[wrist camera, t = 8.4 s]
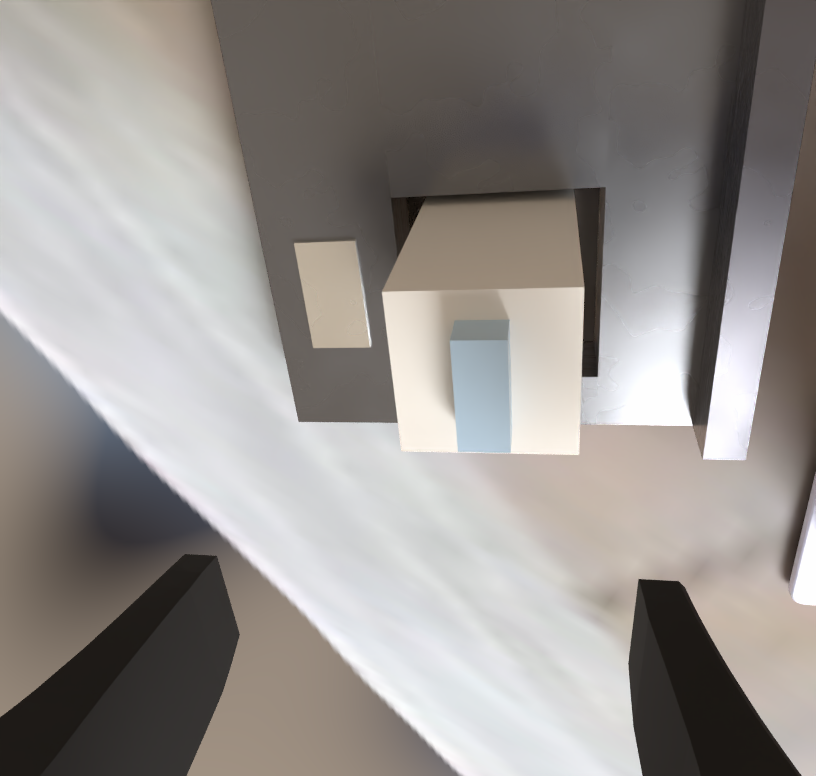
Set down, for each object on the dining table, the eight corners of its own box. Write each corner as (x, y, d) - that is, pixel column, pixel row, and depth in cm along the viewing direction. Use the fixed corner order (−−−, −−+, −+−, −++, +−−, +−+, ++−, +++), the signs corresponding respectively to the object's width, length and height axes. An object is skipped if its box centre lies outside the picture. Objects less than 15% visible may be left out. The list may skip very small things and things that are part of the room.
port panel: (852, -574, 12) (956, -749, 9) (717, 386, 21) (745, 460, 18) (165, -419, 14) (63, -515, 11) (316, 386, 23) (283, 451, 20)
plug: (572, 176, 18) (586, 306, 12) (569, 305, 20) (580, 479, 14) (433, 183, 19) (372, 310, 13) (442, 307, 21) (394, 475, 14)
